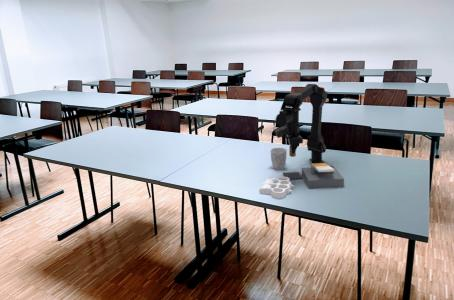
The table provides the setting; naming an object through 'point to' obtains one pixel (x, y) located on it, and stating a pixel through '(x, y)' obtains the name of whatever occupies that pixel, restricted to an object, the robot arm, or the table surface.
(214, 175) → the table surface
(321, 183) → the grey square block
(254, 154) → the table surface
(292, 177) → the black mat
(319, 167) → the white and orange panel
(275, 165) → the mug
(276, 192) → the white lobed tray
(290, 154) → the walnut cylinder
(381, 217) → the table surface
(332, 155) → the table surface
